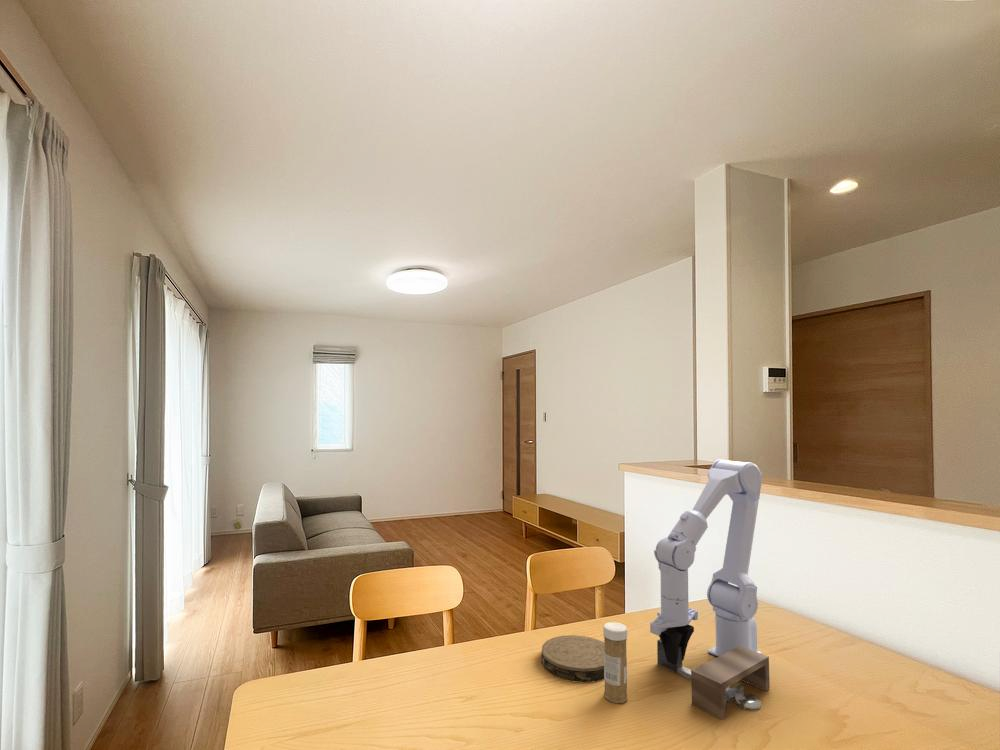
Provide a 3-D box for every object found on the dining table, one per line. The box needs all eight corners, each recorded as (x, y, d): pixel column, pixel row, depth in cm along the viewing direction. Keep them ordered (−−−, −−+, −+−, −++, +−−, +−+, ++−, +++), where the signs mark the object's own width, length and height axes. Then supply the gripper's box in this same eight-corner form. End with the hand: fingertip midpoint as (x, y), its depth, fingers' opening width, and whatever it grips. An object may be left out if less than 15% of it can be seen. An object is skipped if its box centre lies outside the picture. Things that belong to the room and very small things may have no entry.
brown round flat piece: (592, 644, 123) (592, 631, 123) (629, 677, 108) (629, 662, 108) (530, 653, 118) (530, 640, 118) (560, 689, 103) (560, 673, 103)
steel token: (742, 696, 101) (742, 690, 101) (765, 706, 97) (764, 700, 98) (730, 703, 98) (730, 697, 98) (753, 714, 95) (753, 708, 95)
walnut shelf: (740, 676, 108) (739, 645, 109) (769, 688, 103) (768, 656, 104) (691, 704, 97) (691, 670, 98) (721, 719, 93) (720, 683, 93)
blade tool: (652, 666, 112) (652, 642, 112) (666, 659, 115) (666, 636, 115) (729, 702, 98) (729, 675, 98) (743, 694, 101) (742, 668, 101)
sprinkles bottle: (632, 699, 99) (632, 627, 100) (615, 707, 96) (615, 632, 97) (615, 689, 102) (614, 619, 103) (598, 695, 100) (598, 624, 101)
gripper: (678, 584, 119) (678, 645, 118) (638, 597, 110) (638, 662, 109) (706, 593, 114) (707, 657, 113) (666, 607, 105) (667, 676, 104)
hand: (675, 660), depth 111 cm, fingers closed on blade tool, 2 cm apart
